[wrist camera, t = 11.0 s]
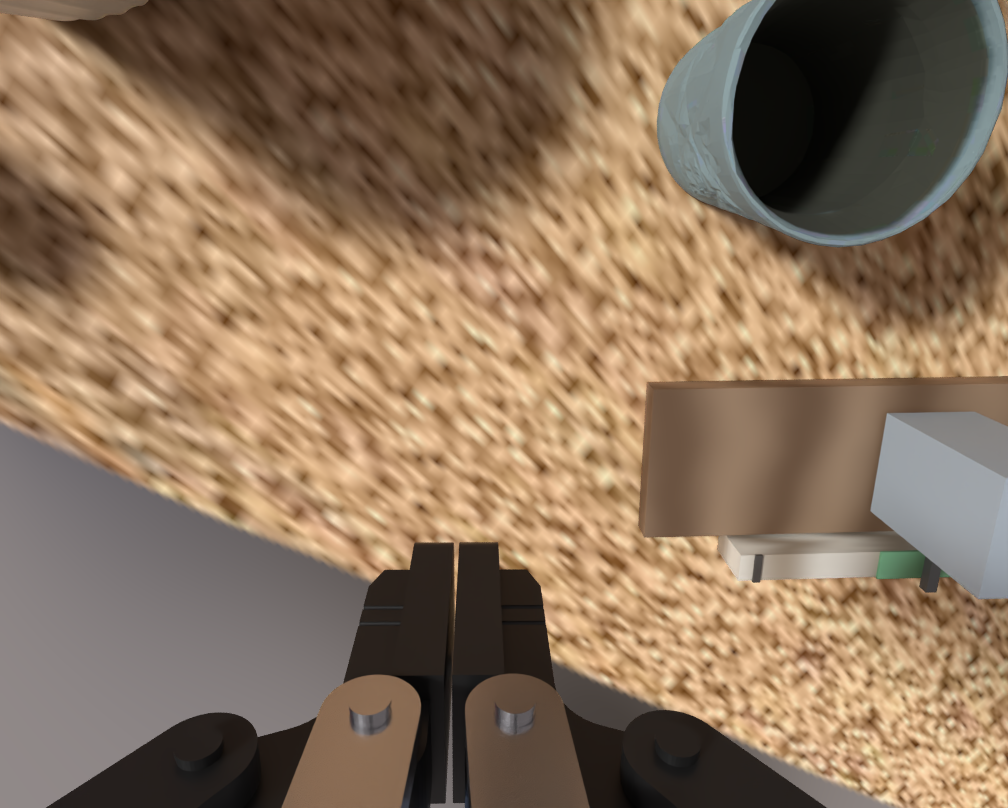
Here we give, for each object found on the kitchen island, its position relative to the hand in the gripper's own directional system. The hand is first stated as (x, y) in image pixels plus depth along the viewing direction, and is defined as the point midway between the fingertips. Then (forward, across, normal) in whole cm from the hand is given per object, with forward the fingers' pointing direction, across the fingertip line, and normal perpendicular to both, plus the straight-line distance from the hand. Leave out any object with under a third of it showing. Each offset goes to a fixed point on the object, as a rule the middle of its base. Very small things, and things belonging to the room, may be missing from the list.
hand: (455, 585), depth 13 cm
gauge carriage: (+24, -27, +10) cm, 38 cm away
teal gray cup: (+27, -14, -10) cm, 32 cm away
